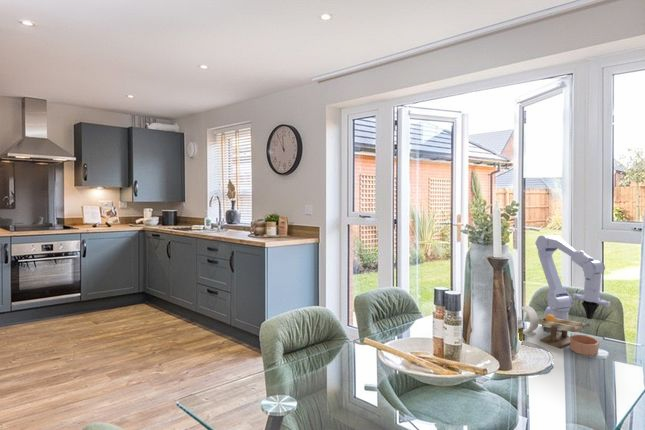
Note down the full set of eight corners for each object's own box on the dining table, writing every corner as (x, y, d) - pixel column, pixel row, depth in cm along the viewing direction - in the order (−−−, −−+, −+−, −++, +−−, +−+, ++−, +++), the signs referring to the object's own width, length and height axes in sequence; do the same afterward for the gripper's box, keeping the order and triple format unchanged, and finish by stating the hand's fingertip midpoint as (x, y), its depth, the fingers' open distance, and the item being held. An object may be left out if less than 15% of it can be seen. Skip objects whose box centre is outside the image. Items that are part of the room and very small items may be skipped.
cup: (565, 348, 185) (565, 338, 185) (577, 342, 191) (578, 332, 190) (590, 357, 177) (591, 346, 177) (602, 351, 183) (603, 340, 182)
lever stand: (540, 341, 193) (541, 324, 192) (556, 334, 200) (557, 318, 199) (560, 348, 185) (562, 331, 184) (576, 341, 193) (577, 324, 192)
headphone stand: (526, 330, 205) (528, 305, 203) (537, 335, 199) (539, 309, 198) (519, 332, 203) (521, 307, 201) (530, 337, 197) (532, 311, 196)
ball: (543, 323, 196) (543, 314, 196) (548, 321, 198) (547, 312, 198) (552, 325, 192) (551, 316, 192) (557, 323, 195) (556, 314, 194)
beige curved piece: (540, 331, 196) (539, 319, 196) (554, 325, 202) (553, 313, 202) (576, 338, 183) (575, 325, 183) (590, 332, 189) (589, 319, 189)
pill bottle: (520, 347, 187) (521, 322, 186) (505, 343, 191) (506, 319, 189) (523, 342, 192) (525, 317, 191) (509, 338, 196) (510, 314, 194)
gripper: (569, 285, 194) (567, 315, 195) (605, 294, 182) (603, 325, 183) (578, 282, 197) (575, 312, 199) (613, 291, 185) (611, 322, 187)
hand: (589, 318), depth 192 cm, fingers closed
